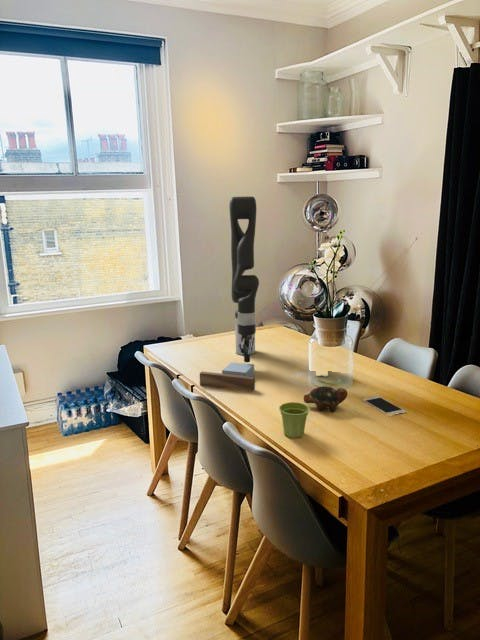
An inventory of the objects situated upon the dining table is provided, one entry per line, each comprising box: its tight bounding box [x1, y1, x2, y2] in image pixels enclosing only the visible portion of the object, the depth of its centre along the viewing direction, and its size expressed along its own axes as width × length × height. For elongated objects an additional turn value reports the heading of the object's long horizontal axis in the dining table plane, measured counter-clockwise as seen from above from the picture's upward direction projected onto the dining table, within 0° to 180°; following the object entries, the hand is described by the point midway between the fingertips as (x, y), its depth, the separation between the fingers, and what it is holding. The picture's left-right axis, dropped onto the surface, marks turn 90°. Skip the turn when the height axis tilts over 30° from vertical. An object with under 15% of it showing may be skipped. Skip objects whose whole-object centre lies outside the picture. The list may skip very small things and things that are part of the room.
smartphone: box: [362, 395, 407, 415], centre depth 181 cm, size 7×15×1 cm, turn 23°
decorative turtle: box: [303, 385, 349, 413], centre depth 180 cm, size 10×15×8 cm, turn 80°
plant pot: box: [278, 401, 311, 439], centre depth 160 cm, size 9×9×9 cm
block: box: [221, 361, 255, 377], centre depth 213 cm, size 11×10×4 cm
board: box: [199, 371, 256, 392], centre depth 201 cm, size 2×22×5 cm, turn 70°
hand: (247, 361), depth 222 cm, fingers closed
